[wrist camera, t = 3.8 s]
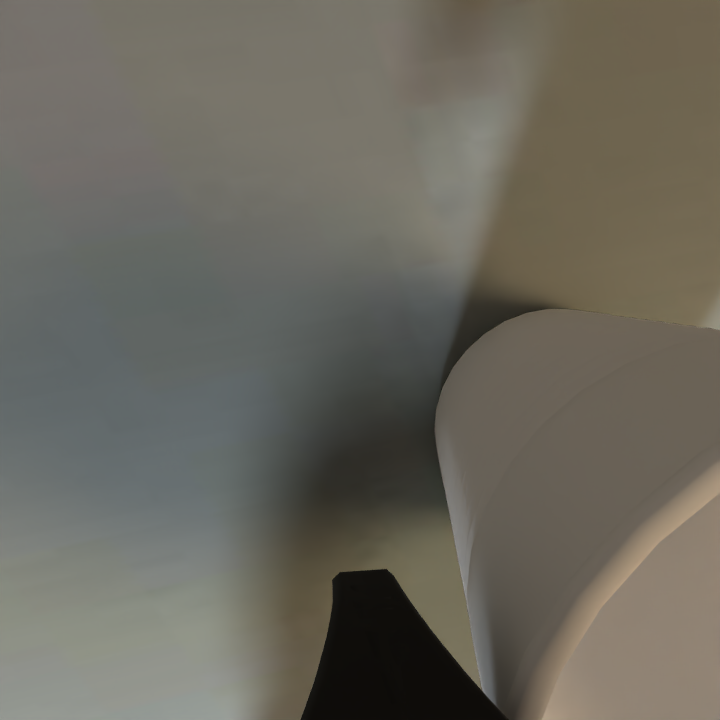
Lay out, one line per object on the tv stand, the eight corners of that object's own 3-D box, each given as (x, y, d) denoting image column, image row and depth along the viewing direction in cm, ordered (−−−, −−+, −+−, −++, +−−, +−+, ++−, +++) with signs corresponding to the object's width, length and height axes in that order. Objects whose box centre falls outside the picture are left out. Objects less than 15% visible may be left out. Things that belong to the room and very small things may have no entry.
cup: (353, 246, 16) (501, 403, 6) (723, 222, 17) (1401, 316, 7) (371, 585, 19) (490, 1086, 9) (686, 545, 20) (1121, 950, 10)
